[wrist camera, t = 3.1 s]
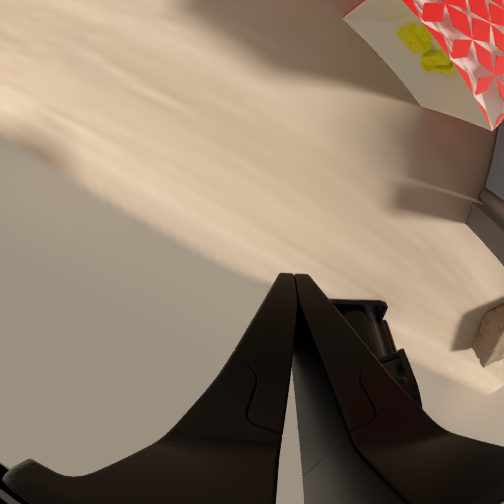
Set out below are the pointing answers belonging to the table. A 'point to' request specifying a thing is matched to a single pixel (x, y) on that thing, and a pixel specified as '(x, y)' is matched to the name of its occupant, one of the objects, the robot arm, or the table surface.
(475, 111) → the red white patterned box
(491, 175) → the door
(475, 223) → the door frame
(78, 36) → the table surface
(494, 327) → the brick
